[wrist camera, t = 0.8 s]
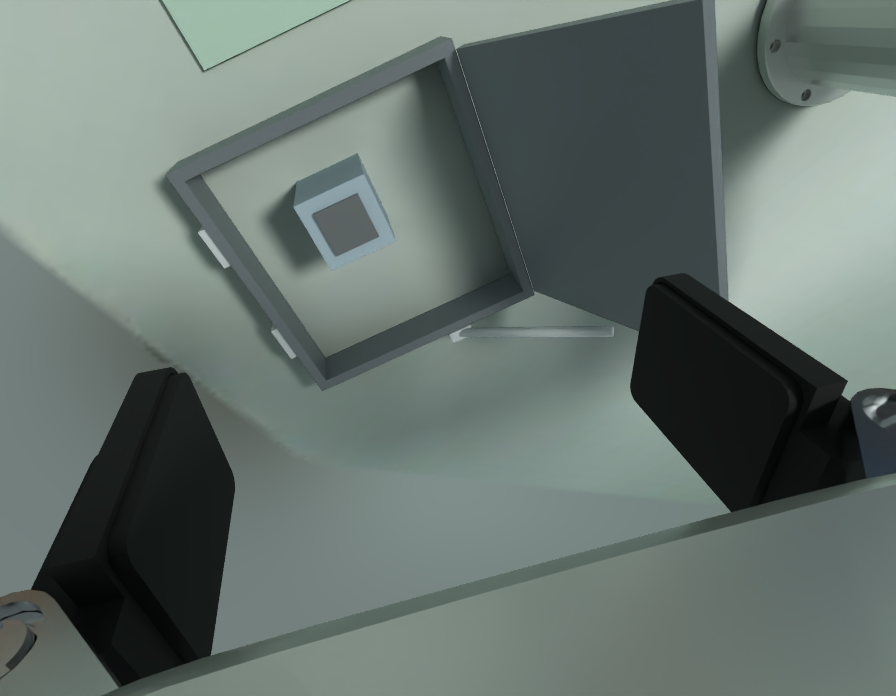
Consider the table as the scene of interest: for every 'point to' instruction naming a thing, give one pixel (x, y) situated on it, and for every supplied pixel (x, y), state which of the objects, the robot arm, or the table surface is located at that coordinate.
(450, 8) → the table surface
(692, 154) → the lid
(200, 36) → the mat
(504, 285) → the case
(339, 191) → the module
